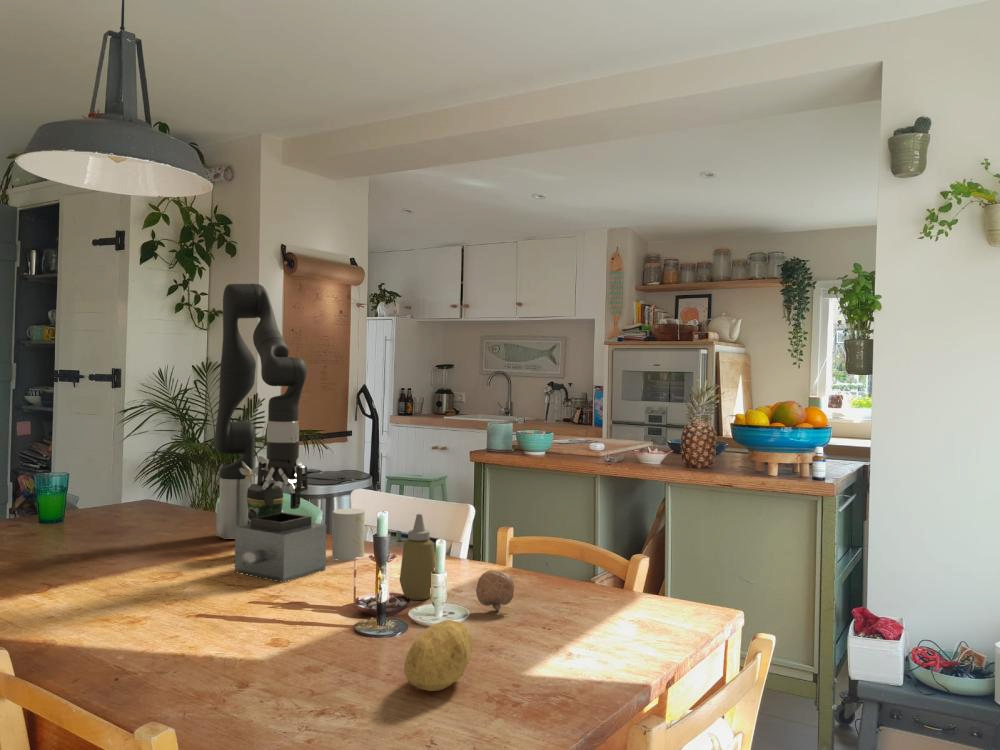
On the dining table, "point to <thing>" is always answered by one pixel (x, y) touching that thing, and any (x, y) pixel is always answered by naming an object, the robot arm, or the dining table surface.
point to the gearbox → (280, 547)
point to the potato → (438, 656)
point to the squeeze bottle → (417, 562)
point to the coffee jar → (258, 505)
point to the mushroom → (495, 589)
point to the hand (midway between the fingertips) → (281, 506)
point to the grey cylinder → (348, 533)
